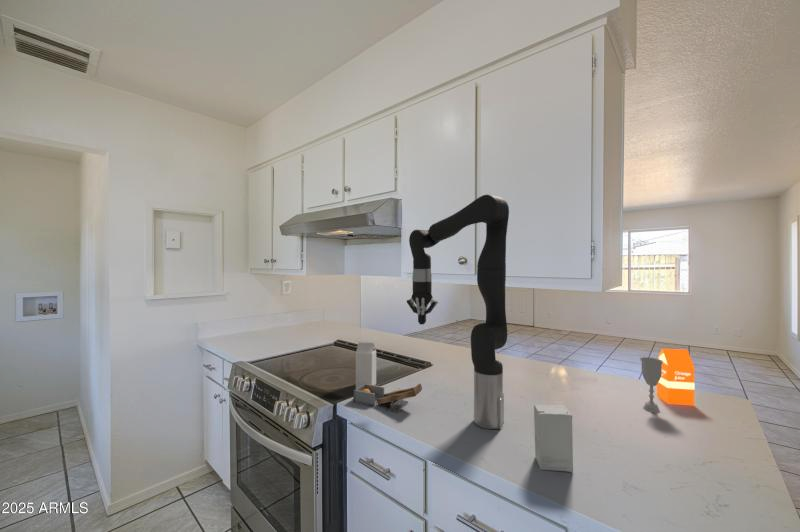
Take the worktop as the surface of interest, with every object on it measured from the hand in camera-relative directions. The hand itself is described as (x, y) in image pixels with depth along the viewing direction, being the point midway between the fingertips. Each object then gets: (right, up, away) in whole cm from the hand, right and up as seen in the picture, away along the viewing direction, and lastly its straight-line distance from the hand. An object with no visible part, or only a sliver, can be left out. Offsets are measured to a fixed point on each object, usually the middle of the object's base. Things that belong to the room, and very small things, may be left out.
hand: (421, 324), depth 131 cm
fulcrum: (-10, -29, -9) cm, 32 cm away
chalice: (+83, -29, -11) cm, 88 cm away
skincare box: (+31, -29, -45) cm, 62 cm away
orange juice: (+98, -29, -3) cm, 102 cm away
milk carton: (-23, -29, +12) cm, 39 cm away
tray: (-21, -29, -3) cm, 36 cm away
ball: (-22, -27, -3) cm, 35 cm away
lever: (-8, -26, -7) cm, 27 cm away
